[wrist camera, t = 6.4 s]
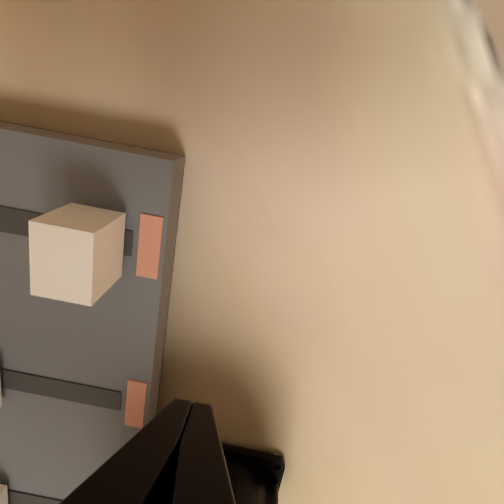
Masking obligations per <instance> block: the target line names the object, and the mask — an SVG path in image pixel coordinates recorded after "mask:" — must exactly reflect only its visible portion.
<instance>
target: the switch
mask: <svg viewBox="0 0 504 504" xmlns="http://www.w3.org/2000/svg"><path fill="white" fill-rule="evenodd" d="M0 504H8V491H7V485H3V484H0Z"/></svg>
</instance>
